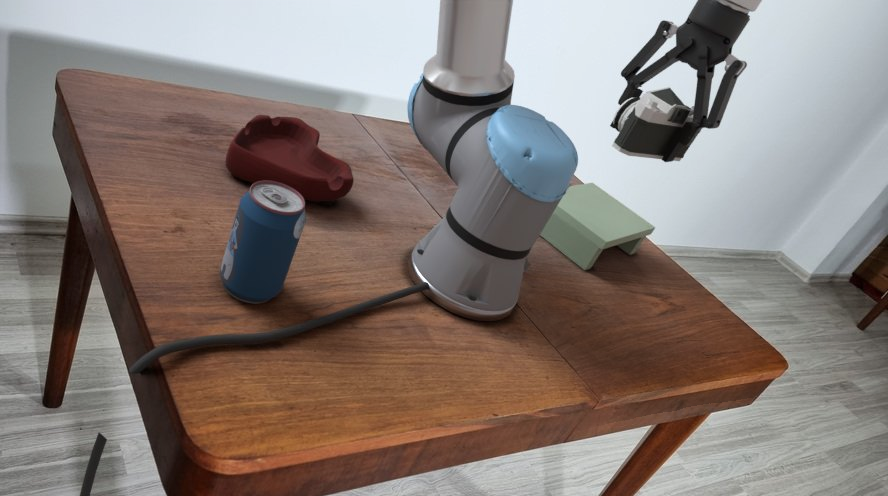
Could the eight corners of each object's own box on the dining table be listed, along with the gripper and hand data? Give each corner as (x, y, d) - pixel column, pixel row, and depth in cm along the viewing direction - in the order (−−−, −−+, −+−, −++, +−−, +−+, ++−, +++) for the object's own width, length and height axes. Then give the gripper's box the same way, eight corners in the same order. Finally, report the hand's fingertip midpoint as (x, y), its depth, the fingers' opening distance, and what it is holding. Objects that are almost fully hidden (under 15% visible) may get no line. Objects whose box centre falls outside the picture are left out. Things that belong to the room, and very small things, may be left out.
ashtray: (198, 139, 100) (205, 107, 97) (297, 144, 110) (307, 116, 107) (249, 213, 90) (259, 179, 87) (353, 211, 100) (365, 181, 97)
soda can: (291, 293, 80) (324, 205, 73) (251, 316, 74) (282, 222, 68) (246, 260, 82) (273, 171, 75) (203, 280, 76) (229, 185, 70)
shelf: (586, 272, 111) (606, 242, 108) (522, 221, 118) (539, 191, 115) (636, 255, 124) (655, 227, 121) (575, 209, 131) (592, 182, 127)
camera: (651, 137, 119) (685, 81, 113) (688, 164, 113) (726, 108, 108) (589, 128, 109) (623, 68, 104) (627, 158, 104) (664, 95, 99)
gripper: (806, 40, 97) (709, 179, 109) (673, -26, 107) (597, 108, 119) (791, 37, 91) (690, 184, 103) (652, -33, 102) (575, 108, 114)
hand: (640, 143), depth 111 cm, fingers closed on camera, 9 cm apart
